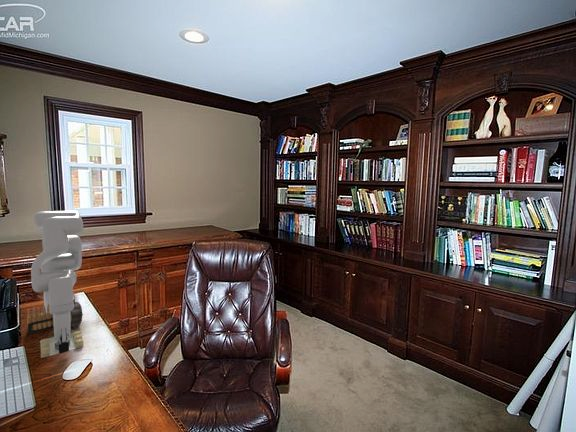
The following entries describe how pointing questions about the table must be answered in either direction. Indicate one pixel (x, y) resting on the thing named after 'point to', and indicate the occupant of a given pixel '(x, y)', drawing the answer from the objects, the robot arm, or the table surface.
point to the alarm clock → (76, 314)
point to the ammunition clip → (39, 320)
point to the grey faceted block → (58, 346)
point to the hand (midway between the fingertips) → (64, 351)
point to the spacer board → (49, 343)
